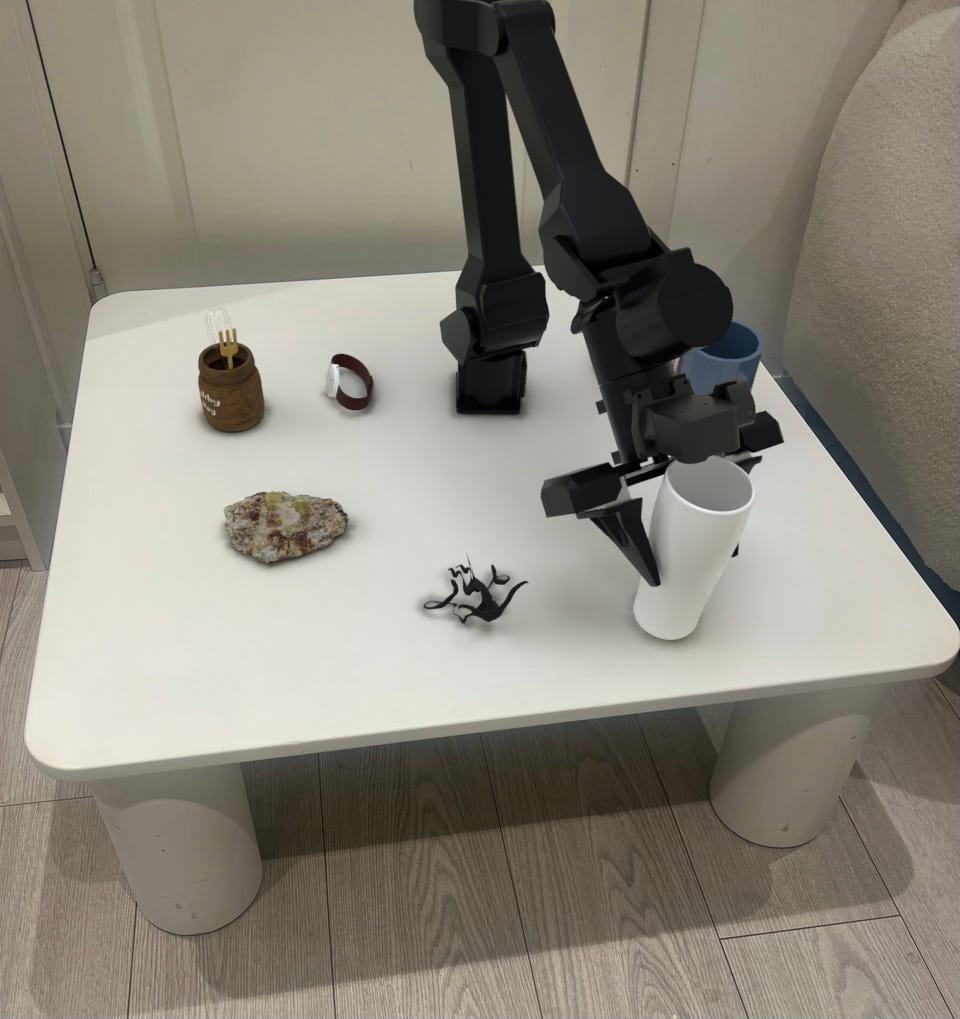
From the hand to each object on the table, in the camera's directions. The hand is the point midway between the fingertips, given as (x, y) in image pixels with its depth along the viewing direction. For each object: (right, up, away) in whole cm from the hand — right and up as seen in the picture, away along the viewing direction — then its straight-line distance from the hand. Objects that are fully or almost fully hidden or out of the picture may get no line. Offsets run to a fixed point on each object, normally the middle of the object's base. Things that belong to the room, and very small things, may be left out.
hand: (694, 571), depth 77 cm
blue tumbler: (+6, +14, +25) cm, 30 cm away
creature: (-17, -3, +7) cm, 19 cm away
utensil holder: (-40, +14, +23) cm, 49 cm away
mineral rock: (-33, +3, +12) cm, 35 cm away
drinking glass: (-1, -4, +6) cm, 7 cm away
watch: (-30, +17, +26) cm, 43 cm away
